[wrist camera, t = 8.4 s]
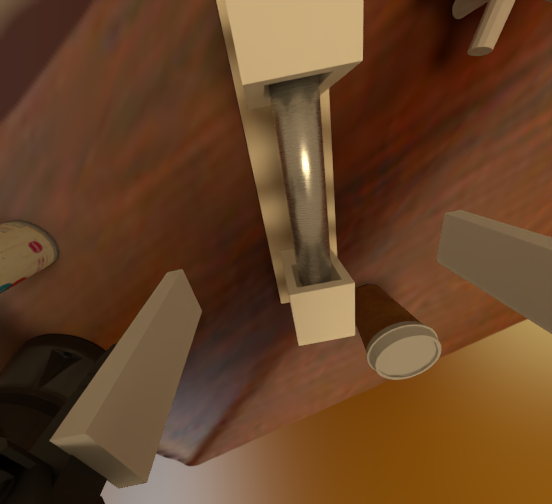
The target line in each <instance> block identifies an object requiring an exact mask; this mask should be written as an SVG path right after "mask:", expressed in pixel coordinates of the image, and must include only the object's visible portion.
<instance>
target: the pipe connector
mask: <svg viewBox="0 0 552 504" xmlns="http://www.w3.org/2000/svg"><path fill="white" fill-rule="evenodd" d="M546 1H549V2H552V0H546ZM486 2H488V4H487V6H486V8H485V11H484V13H483V16H482V18H481V20H480V23H479V25H478V28H477V30H476V32H475V35H474V37H473V40H472V42H471V44H470V47H469V49H468V52H467V54H469V55H471V56H482V55H486V54H489V53H490V52H492V50H493V48H494V46H495V44H496V42H497V39H498V37H499V35H500V33H501V31H502V28H503V26H504V24H505V22H506V20H507V18H508V15H509V13H510V11H511V9H512V7H513V4H514V2H515V0H455V2H454V4H453V8H452V14H453V16H454V18H456V19H461V18H463V17H464V16H466V15H467V14H469V13H471V12H472V11H474V10H475V9H477V8H478V7H480V6H482V5H483V4H485V3H486Z"/></svg>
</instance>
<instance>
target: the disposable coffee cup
mask: <svg viewBox="0 0 552 504" xmlns="http://www.w3.org/2000/svg"><path fill="white" fill-rule="evenodd" d="M355 322H356V325H357V328H358V330H359V333H360V336H361V338H362V341H363V344H364V346H365V349H366V354H367V361H368V364H369V365H370V366H371V368H373V369H374V370H376V372H377V373H378V374H379V375H380V376H382V377H385V378H387V379H393V380H398V379H406V378H410V377H413V376H416V375H418V374H420V373H422V372H424V371H425V370H427V369H429V368H430V367H431V366H432V365H433V364H434V363H435V362H436V361H437V360H438V358H439V356H440V354H441V345H440V342H439V341H438V337H437V334H436V332H435V331H434V330H433V329H432V328H430V327H429V326H426V325H424V324H423V323H421V322H419V321H418V320H417V319H416V318H415V317H413V316H412V315H411V314H410V313H409V312H408V311H406V310H405V309H404V308H403V307H402V306H401V305H400V304H398V303H397V302H396V301H394V299H392V298H391V297H390V296H389V295H388V294H387V293H385V292H384V291H383V290H382V289H381V288H380V287H378V286H376V285H364V286H361V287H359V288H357V289H356V290H355Z"/></svg>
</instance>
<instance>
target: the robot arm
mask: <svg viewBox="0 0 552 504" xmlns="http://www.w3.org/2000/svg"><path fill="white" fill-rule="evenodd" d="M436 262H438V263H440V264H441V265H443V266H444V267H446V268H448V269H449V270H451V271H452V272H454V273H456V274H457V275H459V276H460V277H462V278H464V279H465V280H467V281H468V282H470V283H471V284H473V285H475V286H476V287H478V288H479V289H481V290H483V291H484V292H486V293H487V294H489V295H491V296H492V297H494V298H495V299H497V300H499V301H500V302H502V303H503V304H505V305H507V306H508V307H510V308H511V309H513V310H515V311H516V312H518V313H519V314H521V315H523V316H524V317H526V318H527V319H529V320H531V321H532V322H534V323H535V324H537V325H539V326H540V327H542V328H543V329H545V330H547V331H548V332H550V333H551V334H552V238H551V237H548V236H545V235H542V234H538V233H535V232H532V231H528V230H525V229H522V228H518V227H515V226H512V225H509V224H505V223H502V222H499V221H495V220H492V219H489V218H485V217H482V216H479V215H476V214H472V213H469V212H466V211H462V210H457V211H453V212H448V213H445V215H444V221H443V226H442V232H441V237H440V242H439V248H438V253H437V259H436ZM201 312H202V310H201V308H200V306H199V303H198V301H197V299H196V297H195V295H194V293H193V291H192V288H191V286H190V284H189V282H188V280H187V278H186V276H185V273H184V271H183V269H181V270H176V271H171V272H167V273H166V275H165V276H164V278H163V279H162V281H161V282H160V283H159V285H158V286H157V288H156V289H155V291H154V292H153V293H152V295H151V296H150V298H149V299H148V301H147V302H146V303H145V305H144V306H143V308H142V309H141V311H140V312H139V313H138V315H137V316H136V318H135V319H134V321H133V322H132V323H131V325H130V326H129V328H128V329H127V331H126V332H125V333H124V335H123V336H122V338H121V339H120V341H119V342H118V343H117V344H113V345H112V346H111V347H110V348H109V349H108V350H107V351H106V352H105V351H103V350H102V349H101V348H99V347H98V346H96V345H94V344H92V343H90V342H88V341H86V340H83V339H80V338H76V337H72V336H67V335H43V336H38V337H35V338H33V339H31V340H29V341H28V342H26V343H25V344H24V345H23V346H22V347H21V348H19V349H18V350H17V351H16V352H15V353H14V354H13V355H12V356H11V358H10V359H9V361H8V363H7V364H6V366H5V367H4V368H3V370H2V371H1V373H0V504H105V503H104V501H103V498H102V497H101V496H100V494H101V492H102V490H103V487H104V485H105V483H106V481H107V480H108V481H109V482H110V483H112V484H113V485H115V486H116V487H118V488H123V487H128V486H133V485H138V484H143V483H146V482H147V480H148V477H149V473H150V471H151V468H152V464H153V461H154V458H155V455H156V452H157V449H158V446H159V443H160V440H161V437H162V433H163V430H164V427H165V424H166V421H167V418H168V415H169V412H170V409H171V406H172V402H173V399H174V396H175V393H176V390H177V387H178V384H179V381H180V378H181V375H182V371H183V368H184V365H185V362H186V359H187V356H188V353H189V350H190V347H191V343H192V340H193V337H194V334H195V331H196V328H197V325H198V322H199V319H200V316H201Z"/></svg>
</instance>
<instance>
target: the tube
mask: <svg viewBox="0 0 552 504" xmlns="http://www.w3.org/2000/svg"><path fill="white" fill-rule="evenodd" d="M268 85H269V92H270V98H271V105H272V111H273V118H274V124H275V130H276V137H277V143H278V150H279V156H280V163H281V169H282V176H283V182H284V189H285V195H286V202H287V208H288V214H289V221H290V227H291V234H292V240H293V247H294V253H295V260H296V266H297V273H298V279H299V283H300V284H301V285H302V286H309V285H314V284H320V283H325V282H330V281H331V280H332V273H331V258H330V242H329V227H328V212H327V196H326V181H325V166H324V151H323V135H322V120H321V105H320V89H319V74H317V75H312V76H307V77H302V78H297V79H292V80H287V81H283V82H278V83H273V84H268Z"/></svg>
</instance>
